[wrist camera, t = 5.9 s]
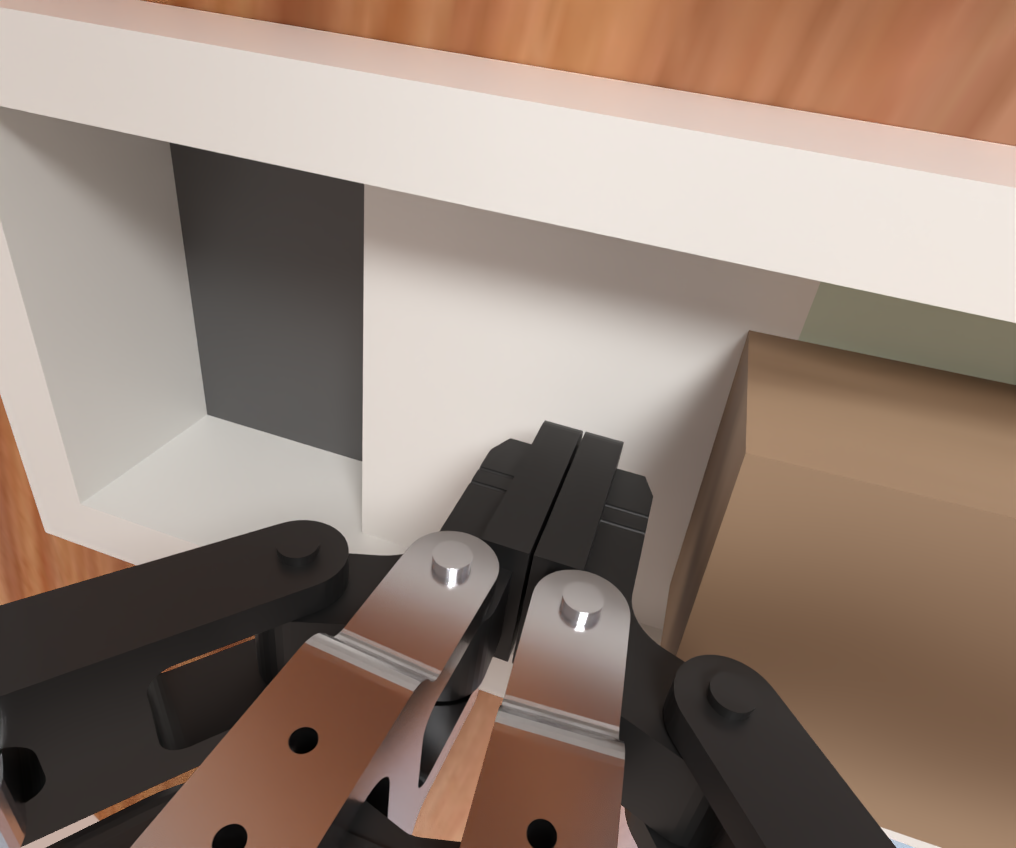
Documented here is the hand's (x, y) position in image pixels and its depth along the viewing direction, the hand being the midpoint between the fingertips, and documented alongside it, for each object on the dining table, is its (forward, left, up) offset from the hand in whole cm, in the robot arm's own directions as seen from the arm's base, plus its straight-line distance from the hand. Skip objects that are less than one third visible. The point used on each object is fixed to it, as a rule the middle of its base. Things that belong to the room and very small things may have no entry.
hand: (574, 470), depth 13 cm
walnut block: (0, +5, -1) cm, 5 cm away
